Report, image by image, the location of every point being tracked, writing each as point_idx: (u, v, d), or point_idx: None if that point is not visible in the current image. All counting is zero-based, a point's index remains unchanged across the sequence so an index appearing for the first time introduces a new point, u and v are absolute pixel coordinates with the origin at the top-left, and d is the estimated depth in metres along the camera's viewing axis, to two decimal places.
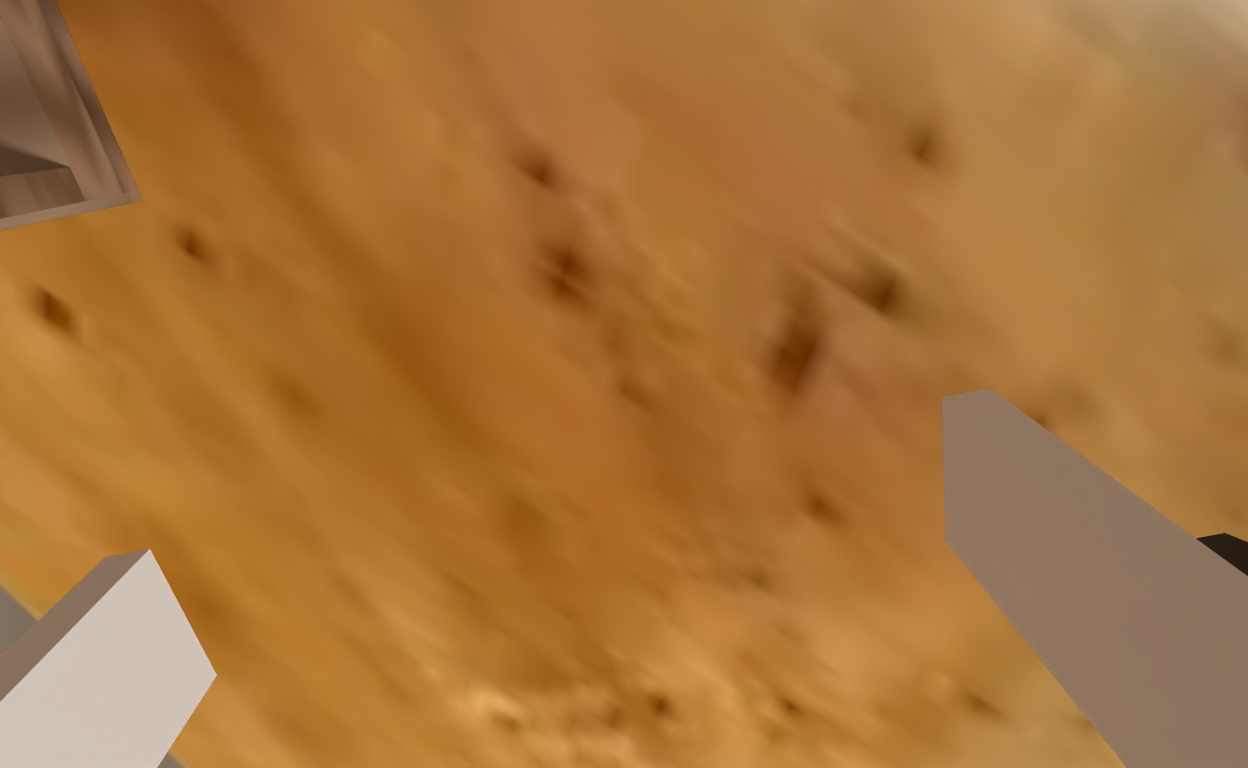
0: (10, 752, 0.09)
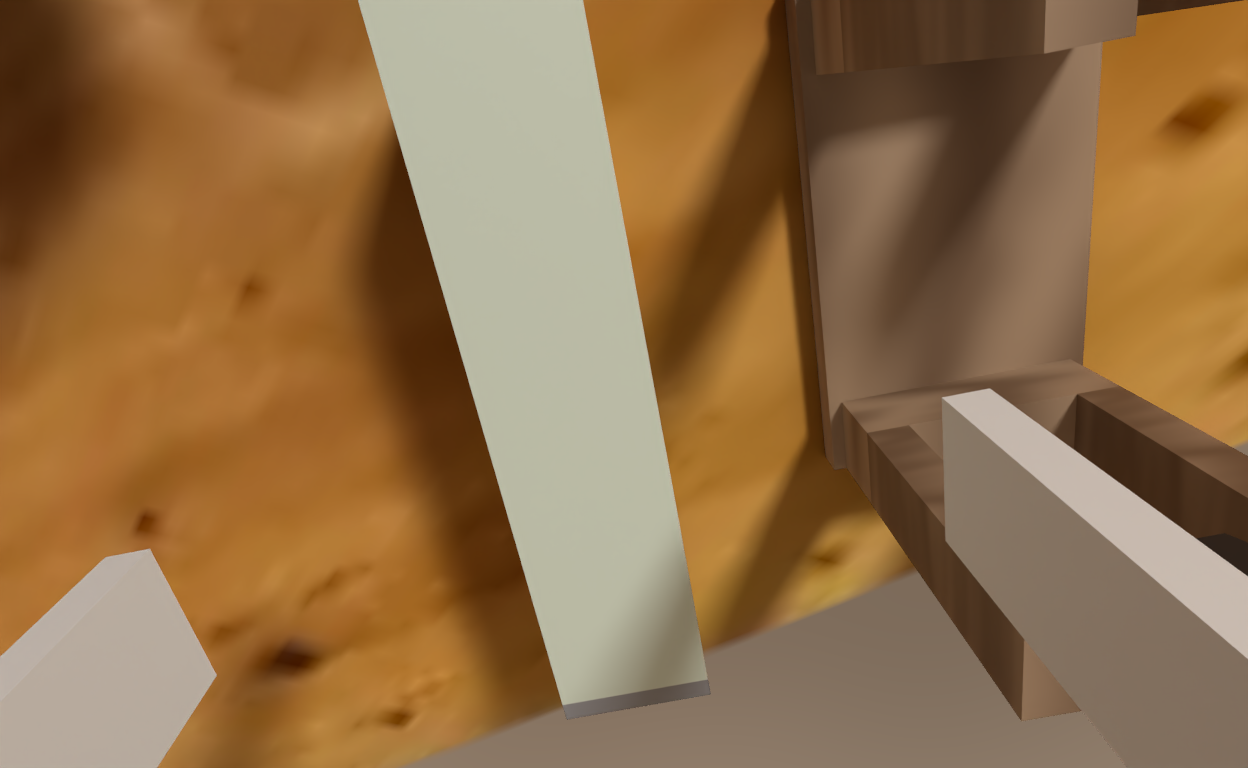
0: (11, 752, 0.09)
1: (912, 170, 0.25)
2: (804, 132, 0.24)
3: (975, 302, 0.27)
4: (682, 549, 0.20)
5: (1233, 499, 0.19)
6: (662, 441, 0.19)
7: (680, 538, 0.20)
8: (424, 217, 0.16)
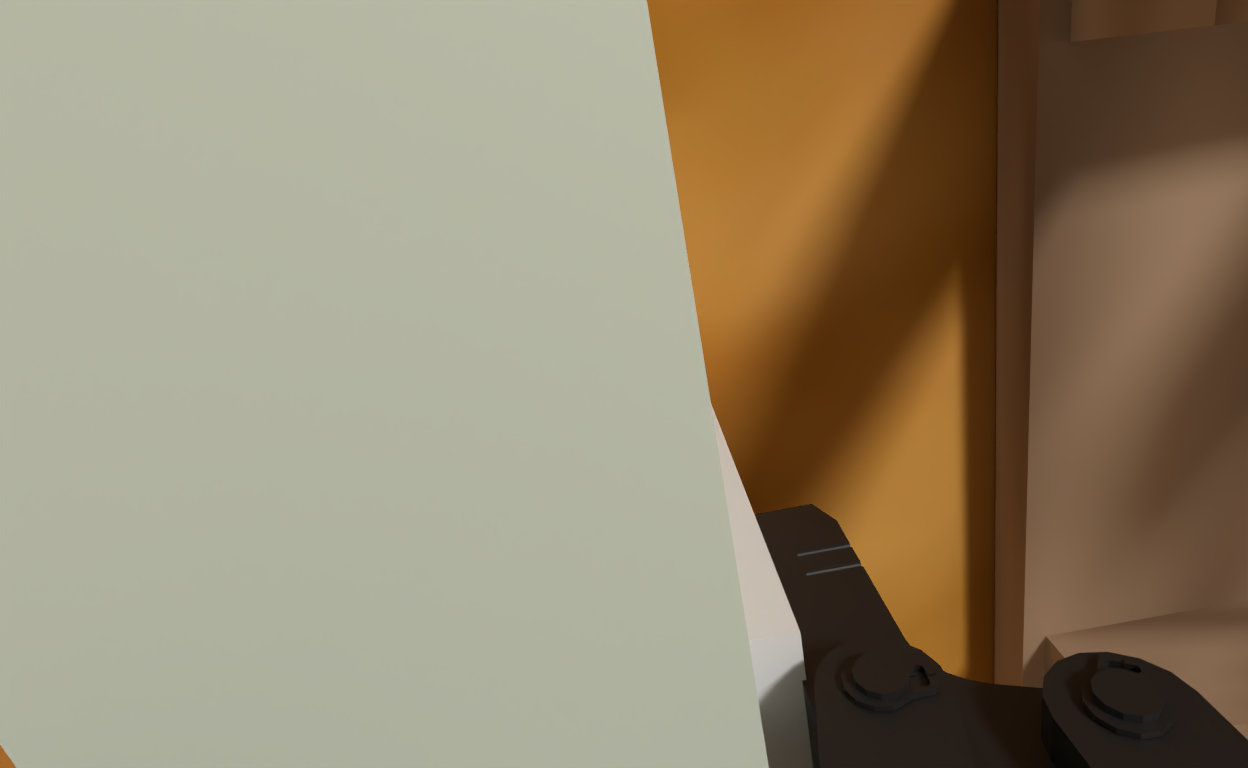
0: None
1: (1236, 234, 0.13)
2: (1030, 161, 0.12)
3: None
4: None
5: None
6: None
7: None
8: None
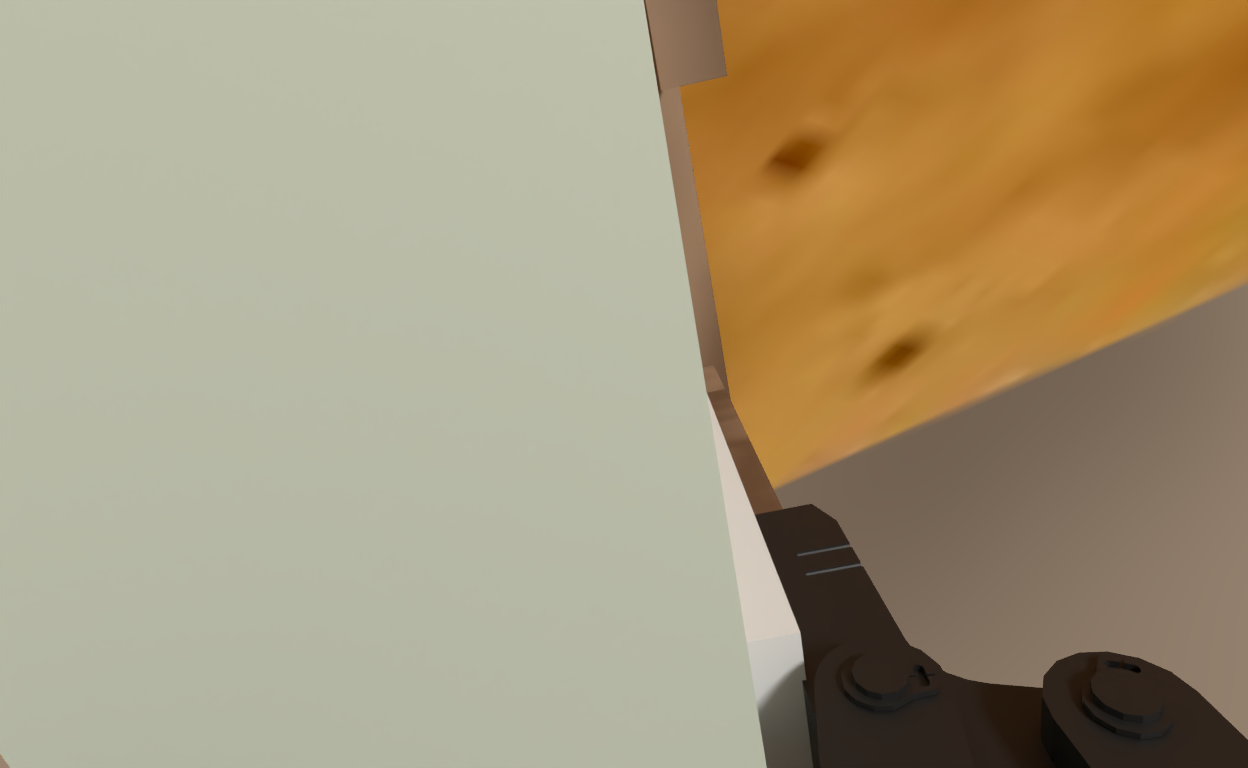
0: None
1: None
2: None
3: None
4: None
5: None
6: None
7: None
8: None
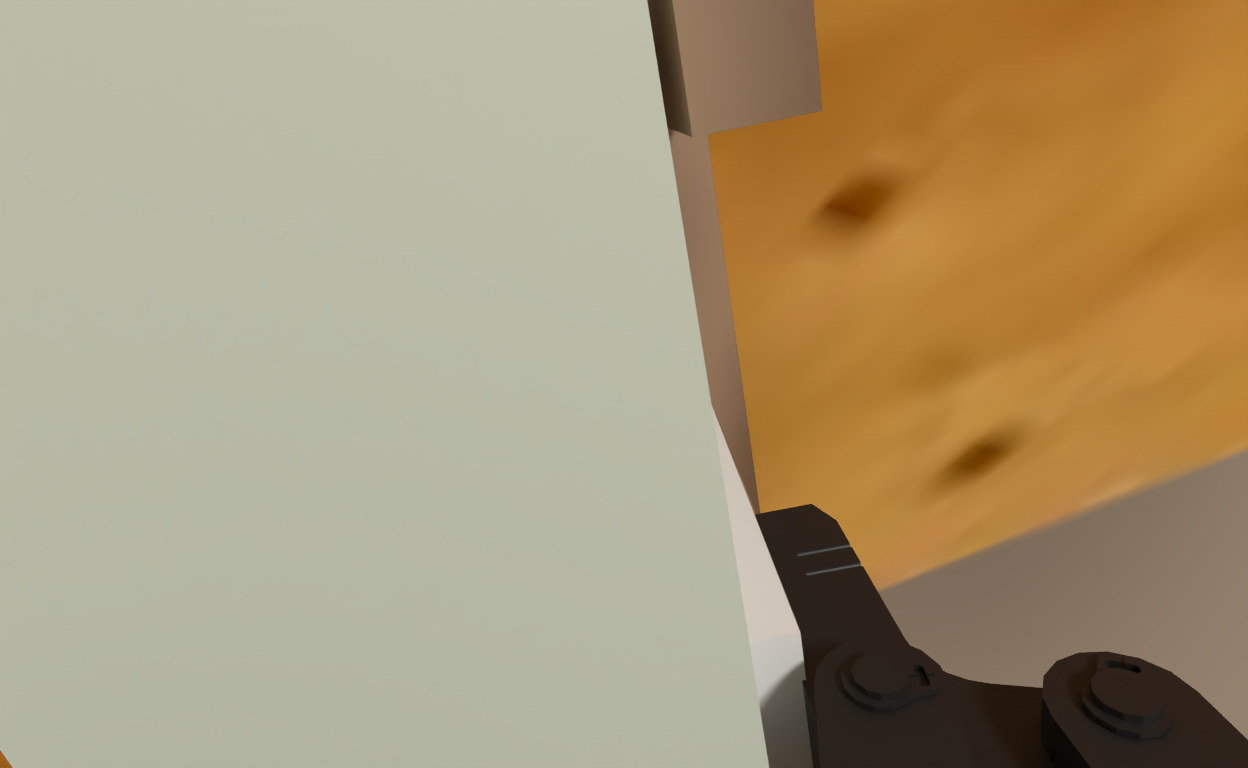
0: None
1: None
2: None
3: None
4: None
5: None
6: None
7: None
8: None
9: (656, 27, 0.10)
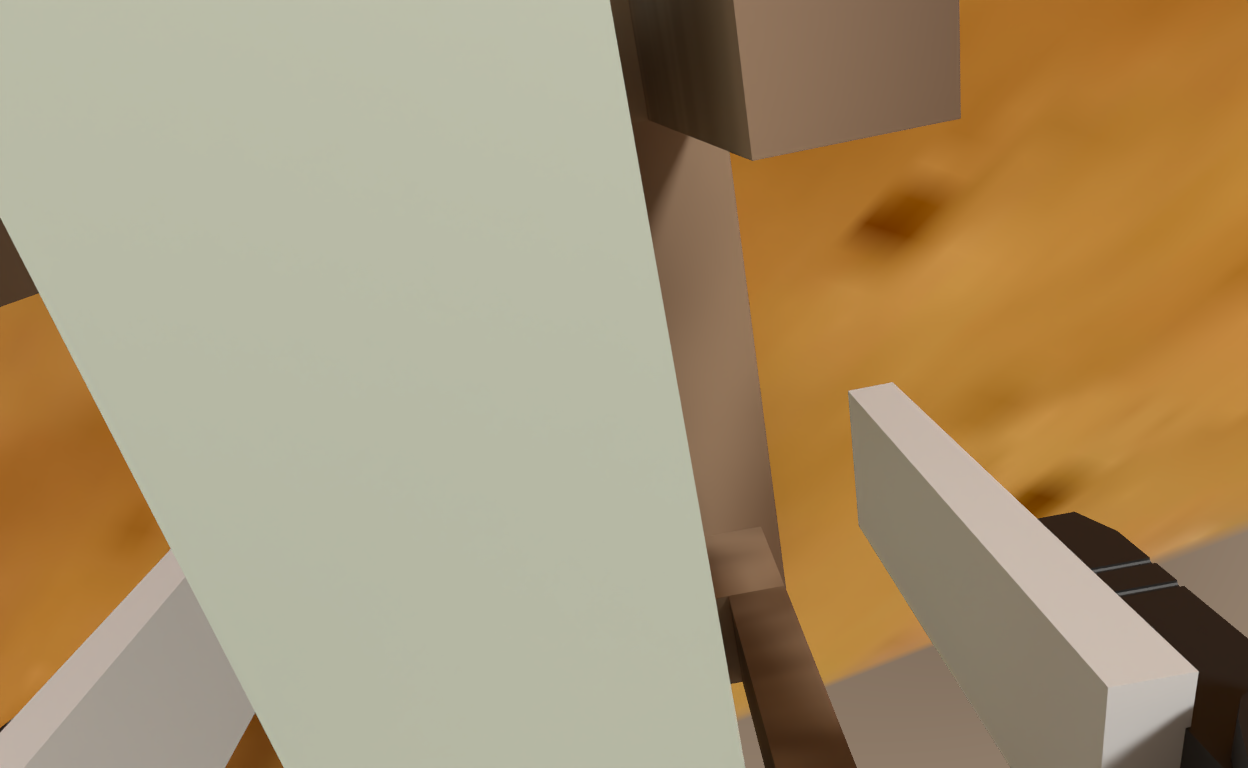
0: (146, 680, 0.09)
1: None
2: None
3: None
4: None
5: None
6: None
7: None
8: (125, 436, 0.06)
9: None
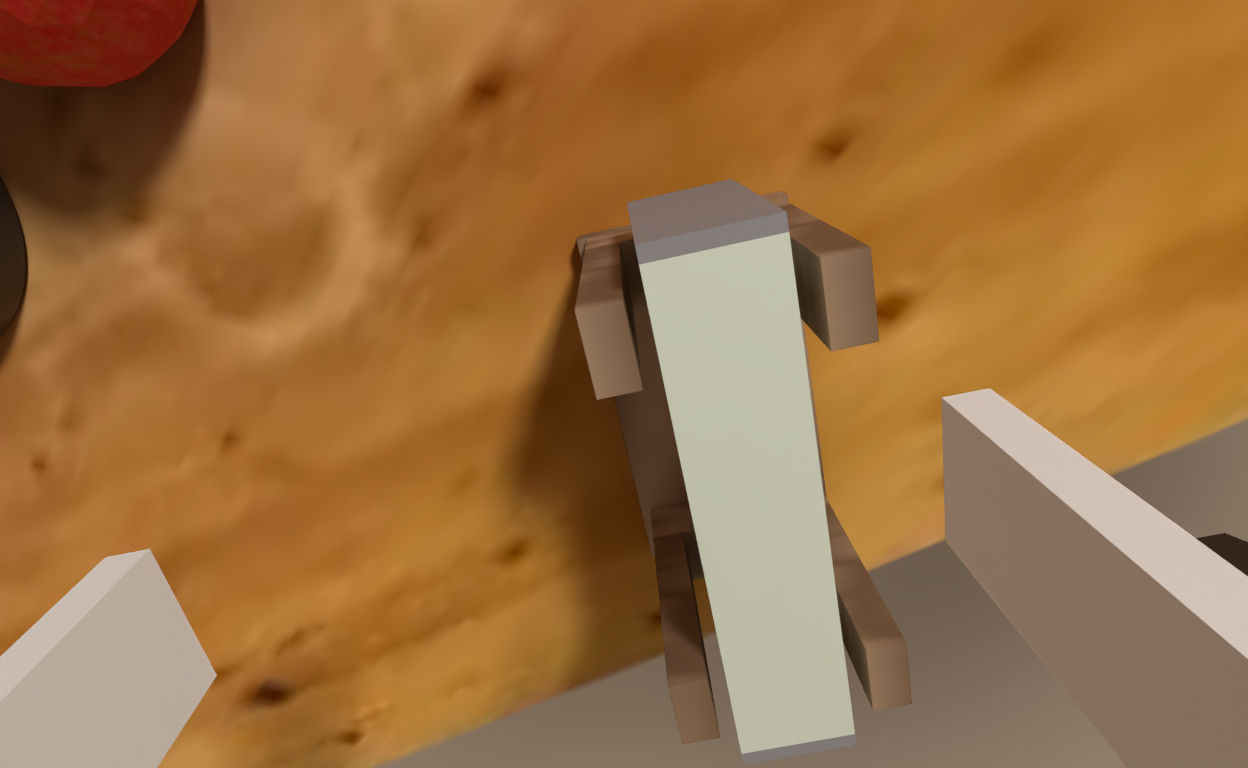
0: (11, 752, 0.09)
1: None
2: None
3: None
4: (841, 638, 0.26)
5: (840, 599, 0.30)
6: (831, 562, 0.25)
7: (840, 630, 0.26)
8: (674, 417, 0.23)
9: (808, 293, 0.24)
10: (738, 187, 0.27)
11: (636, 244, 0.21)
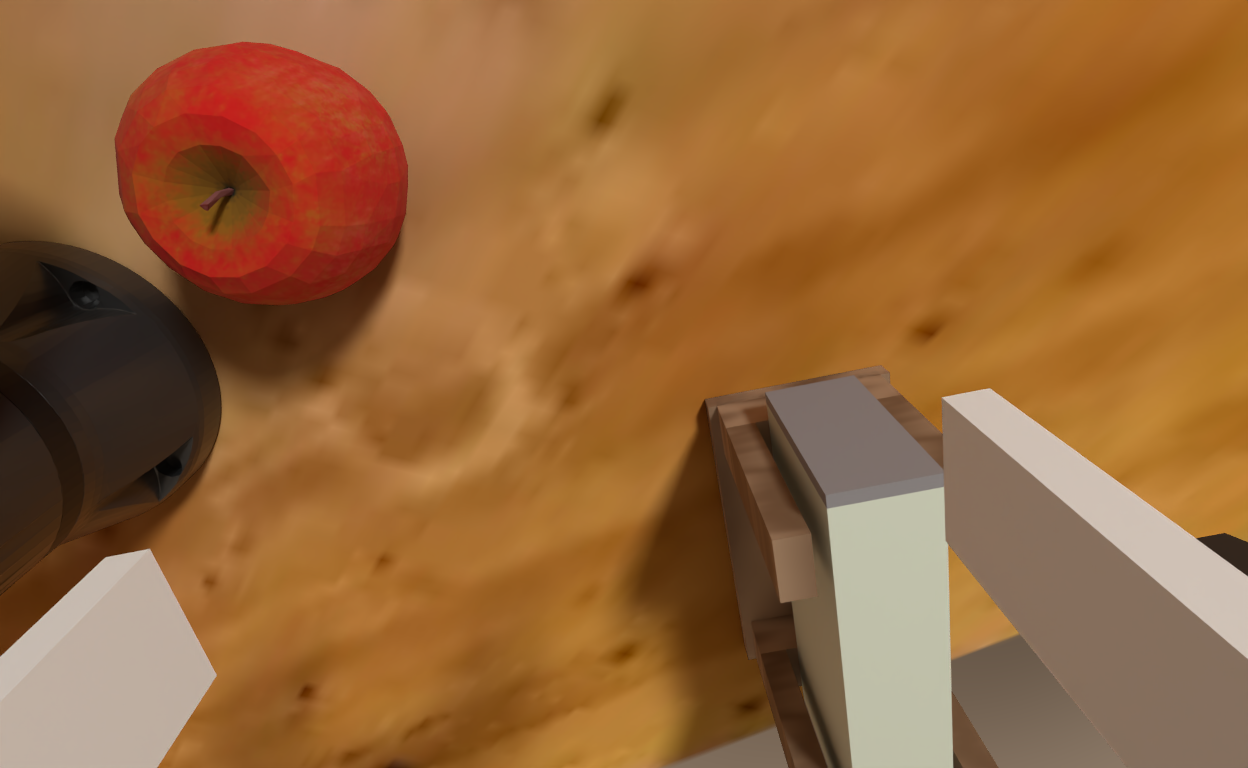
0: (11, 752, 0.09)
1: None
2: (719, 480, 0.41)
3: None
4: None
5: None
6: (951, 718, 0.31)
7: None
8: (839, 615, 0.29)
9: None
10: (870, 398, 0.33)
11: (826, 494, 0.27)
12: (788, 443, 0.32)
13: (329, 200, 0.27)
